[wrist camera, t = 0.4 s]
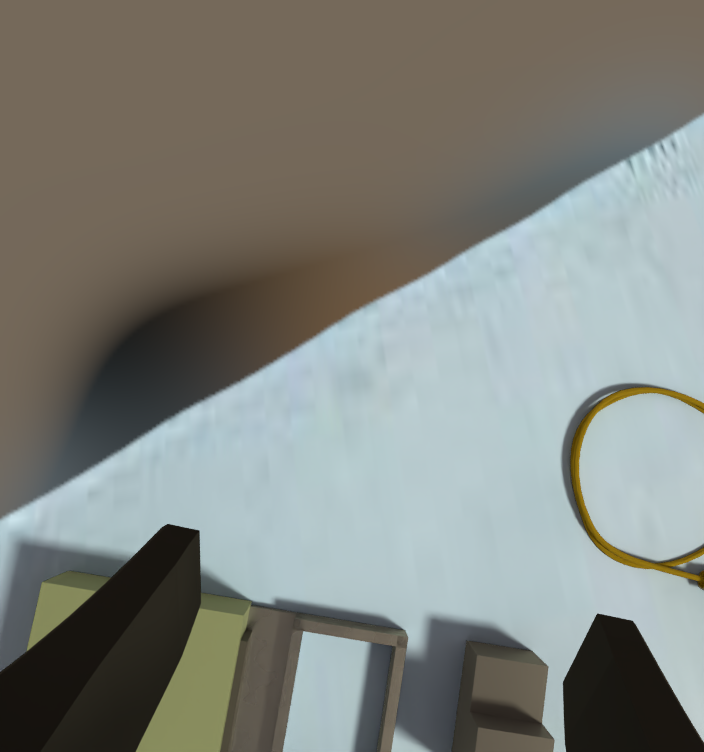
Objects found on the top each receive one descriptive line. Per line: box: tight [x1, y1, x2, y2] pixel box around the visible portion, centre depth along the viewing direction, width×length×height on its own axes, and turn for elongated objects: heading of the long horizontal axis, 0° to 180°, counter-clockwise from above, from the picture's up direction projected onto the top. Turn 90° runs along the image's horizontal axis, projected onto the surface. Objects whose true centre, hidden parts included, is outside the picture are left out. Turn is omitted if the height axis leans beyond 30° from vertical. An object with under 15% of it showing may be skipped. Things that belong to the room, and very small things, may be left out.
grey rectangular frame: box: [231, 605, 408, 752], centre depth 37 cm, size 10×9×2 cm
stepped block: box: [452, 640, 554, 752], centre depth 35 cm, size 7×4×5 cm, turn 171°
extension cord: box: [570, 387, 704, 590], centre depth 39 cm, size 12×16×2 cm
